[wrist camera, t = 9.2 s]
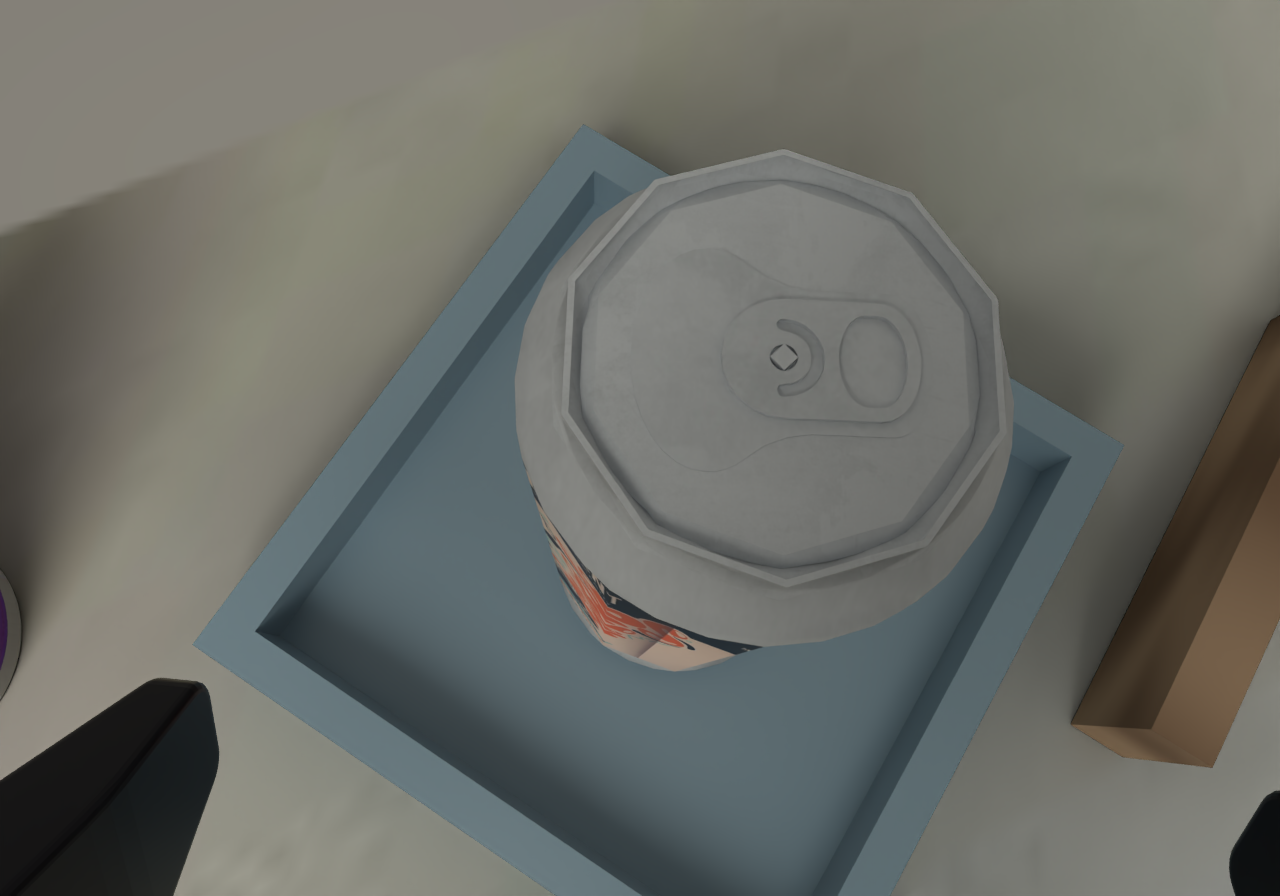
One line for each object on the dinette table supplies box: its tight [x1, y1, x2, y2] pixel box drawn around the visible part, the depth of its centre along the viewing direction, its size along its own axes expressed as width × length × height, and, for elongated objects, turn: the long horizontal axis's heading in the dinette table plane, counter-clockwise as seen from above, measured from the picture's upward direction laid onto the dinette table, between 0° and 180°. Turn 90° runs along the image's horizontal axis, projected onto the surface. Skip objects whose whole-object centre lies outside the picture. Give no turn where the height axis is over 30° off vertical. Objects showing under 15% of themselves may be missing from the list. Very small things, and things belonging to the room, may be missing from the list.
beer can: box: [515, 149, 1014, 672], centre depth 14 cm, size 5×5×12 cm
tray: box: [193, 124, 1124, 896], centre depth 19 cm, size 13×13×2 cm
